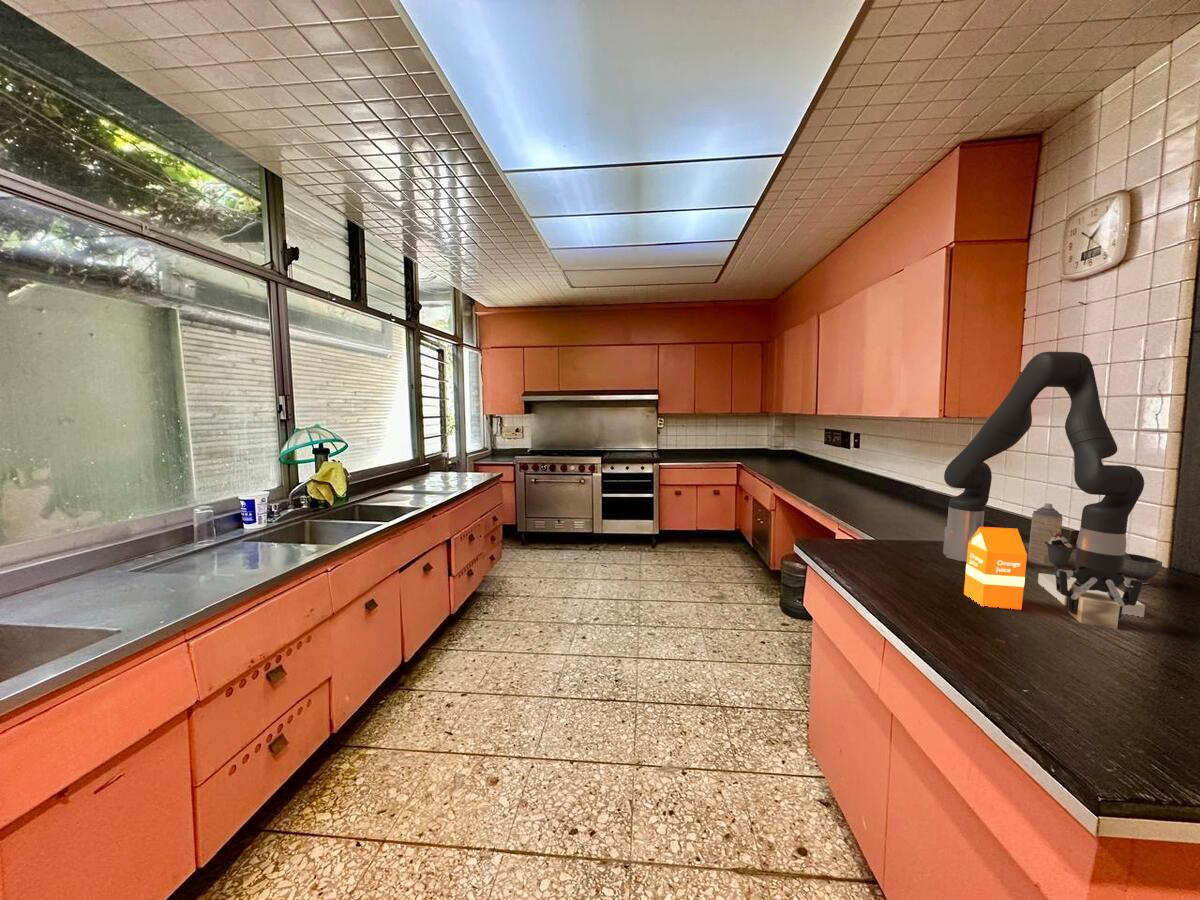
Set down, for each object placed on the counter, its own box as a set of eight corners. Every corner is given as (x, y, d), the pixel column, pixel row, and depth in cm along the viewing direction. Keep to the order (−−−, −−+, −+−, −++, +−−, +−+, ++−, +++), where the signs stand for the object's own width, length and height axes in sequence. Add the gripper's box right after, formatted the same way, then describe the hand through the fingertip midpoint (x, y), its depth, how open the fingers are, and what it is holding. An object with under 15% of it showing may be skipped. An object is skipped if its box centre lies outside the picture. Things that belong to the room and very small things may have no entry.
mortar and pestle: (1154, 580, 127) (1160, 541, 126) (1163, 590, 121) (1169, 548, 119) (1097, 570, 135) (1101, 533, 134) (1102, 579, 128) (1107, 540, 127)
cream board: (1064, 605, 111) (1065, 593, 111) (1037, 582, 125) (1038, 572, 125) (1143, 617, 105) (1145, 605, 105) (1106, 592, 119) (1107, 582, 119)
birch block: (1080, 623, 102) (1083, 599, 102) (1068, 612, 107) (1070, 589, 107) (1117, 629, 99) (1120, 604, 99) (1102, 618, 105) (1105, 594, 104)
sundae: (1057, 572, 133) (1063, 525, 132) (1079, 581, 126) (1085, 532, 125) (1034, 572, 134) (1039, 525, 132) (1055, 580, 127) (1060, 531, 126)
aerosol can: (1063, 566, 138) (1069, 505, 136) (1047, 568, 137) (1053, 506, 135) (1037, 559, 145) (1043, 501, 143) (1022, 560, 144) (1028, 502, 142)
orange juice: (1022, 609, 109) (1030, 533, 107) (982, 606, 111) (989, 530, 109) (1000, 596, 117) (1007, 524, 115) (963, 593, 118) (969, 522, 116)
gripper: (1065, 548, 102) (1058, 616, 103) (1156, 558, 95) (1146, 630, 97) (1051, 539, 108) (1044, 603, 110) (1134, 548, 102) (1126, 616, 103)
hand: (1092, 615), depth 103 cm, fingers open, 6 cm apart
